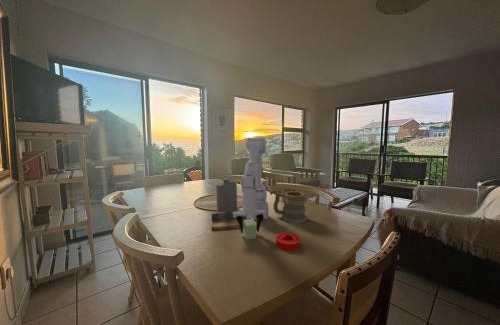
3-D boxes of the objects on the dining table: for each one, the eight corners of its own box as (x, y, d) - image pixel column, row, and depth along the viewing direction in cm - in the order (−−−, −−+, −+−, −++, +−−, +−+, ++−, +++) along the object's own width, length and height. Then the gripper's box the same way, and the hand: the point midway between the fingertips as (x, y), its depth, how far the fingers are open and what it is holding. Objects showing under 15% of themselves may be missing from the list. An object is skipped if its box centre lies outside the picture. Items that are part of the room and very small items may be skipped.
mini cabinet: (253, 231, 95) (253, 219, 95) (256, 239, 88) (256, 226, 87) (243, 232, 94) (243, 219, 94) (246, 240, 87) (246, 226, 86)
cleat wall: (245, 219, 110) (245, 210, 109) (248, 226, 100) (248, 217, 99) (211, 222, 106) (211, 212, 106) (211, 230, 97) (211, 220, 96)
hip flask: (220, 216, 115) (219, 181, 113) (215, 214, 117) (214, 180, 115) (238, 208, 127) (237, 177, 125) (233, 207, 130) (232, 176, 128)
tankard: (307, 216, 113) (308, 190, 111) (303, 225, 101) (304, 195, 100) (273, 211, 121) (273, 187, 120) (266, 219, 110) (266, 192, 108)
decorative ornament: (299, 252, 77) (299, 244, 77) (274, 248, 80) (274, 241, 80) (300, 240, 86) (300, 233, 86) (278, 237, 89) (278, 230, 89)
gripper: (234, 206, 85) (234, 237, 86) (267, 203, 87) (267, 233, 89) (232, 201, 91) (233, 229, 93) (263, 199, 94) (263, 227, 96)
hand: (249, 231), depth 91 cm, fingers open, 7 cm apart
